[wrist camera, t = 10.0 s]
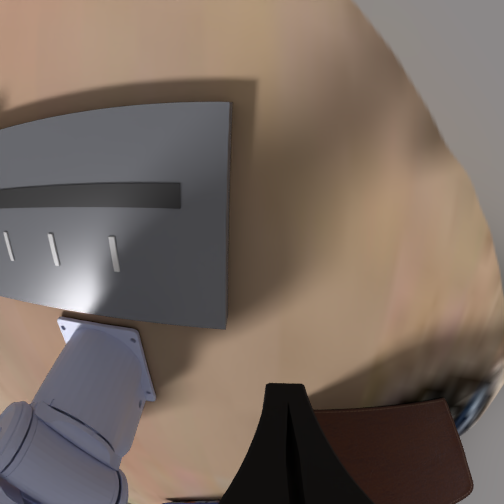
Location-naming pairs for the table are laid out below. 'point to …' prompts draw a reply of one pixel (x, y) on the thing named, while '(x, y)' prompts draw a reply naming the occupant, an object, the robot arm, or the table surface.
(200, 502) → the lunch box
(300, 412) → the robot arm
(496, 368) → the table surface
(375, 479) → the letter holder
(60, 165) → the console board
